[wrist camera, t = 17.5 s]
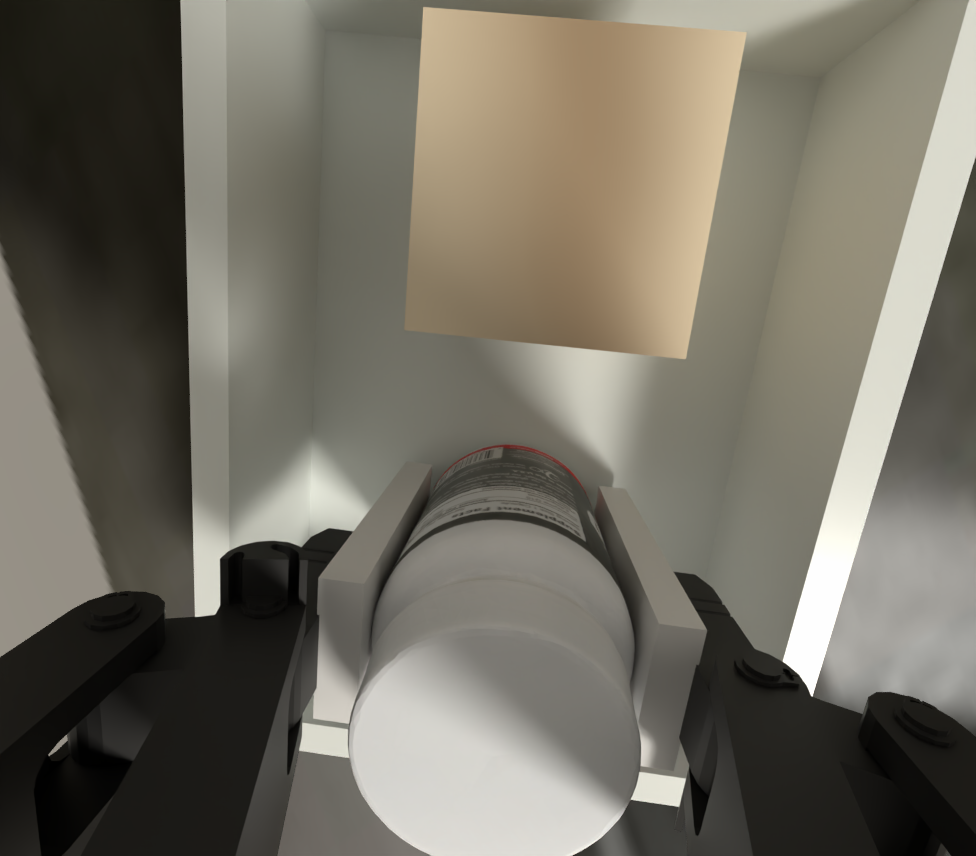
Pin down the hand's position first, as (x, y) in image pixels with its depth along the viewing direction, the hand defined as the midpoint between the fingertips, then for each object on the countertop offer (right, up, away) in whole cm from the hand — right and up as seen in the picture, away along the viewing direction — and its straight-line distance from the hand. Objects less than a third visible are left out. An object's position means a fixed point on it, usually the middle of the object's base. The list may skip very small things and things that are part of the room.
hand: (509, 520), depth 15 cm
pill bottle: (0, 0, 0) cm, 1 cm away
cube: (+1, +8, -1) cm, 8 cm away
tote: (0, +4, 0) cm, 4 cm away
